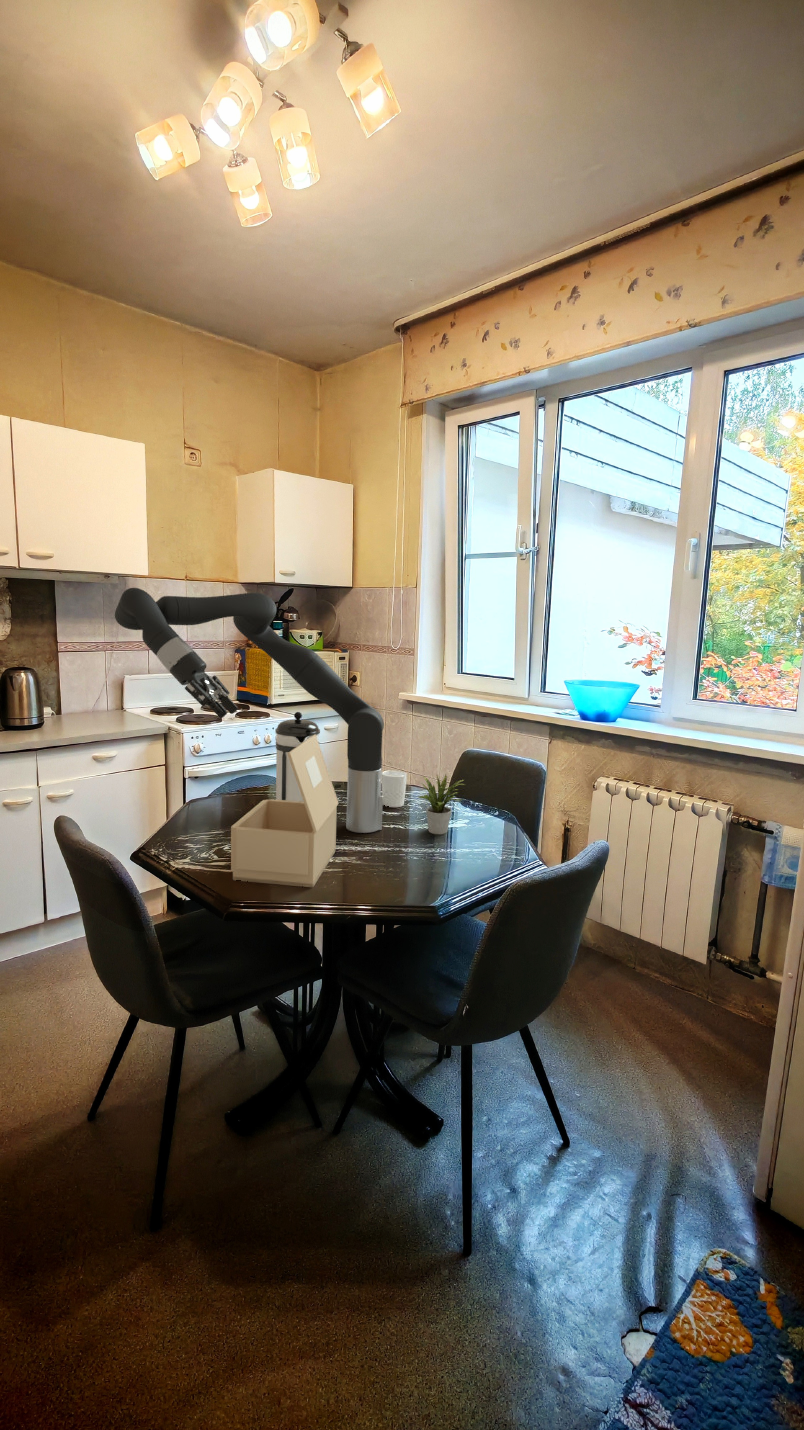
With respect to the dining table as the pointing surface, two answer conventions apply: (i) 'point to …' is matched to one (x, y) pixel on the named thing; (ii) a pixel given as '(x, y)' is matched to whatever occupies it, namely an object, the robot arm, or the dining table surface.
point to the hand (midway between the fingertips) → (229, 713)
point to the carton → (281, 844)
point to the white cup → (393, 788)
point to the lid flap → (313, 781)
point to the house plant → (439, 805)
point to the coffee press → (287, 740)
